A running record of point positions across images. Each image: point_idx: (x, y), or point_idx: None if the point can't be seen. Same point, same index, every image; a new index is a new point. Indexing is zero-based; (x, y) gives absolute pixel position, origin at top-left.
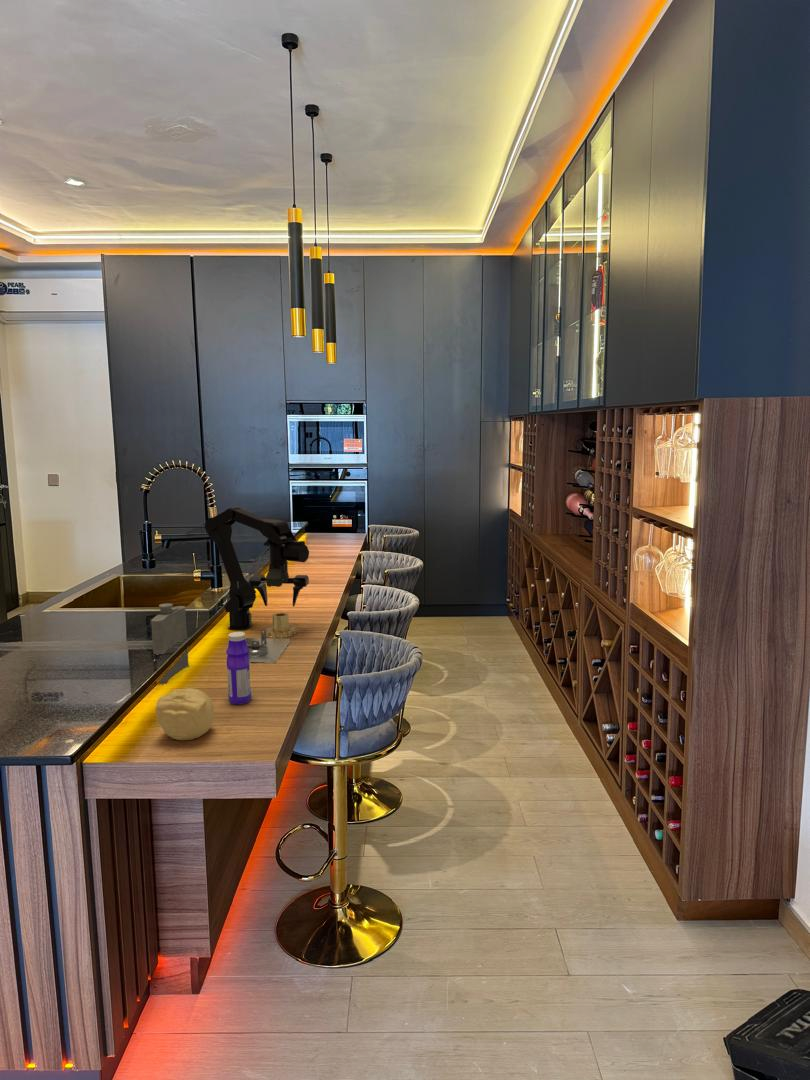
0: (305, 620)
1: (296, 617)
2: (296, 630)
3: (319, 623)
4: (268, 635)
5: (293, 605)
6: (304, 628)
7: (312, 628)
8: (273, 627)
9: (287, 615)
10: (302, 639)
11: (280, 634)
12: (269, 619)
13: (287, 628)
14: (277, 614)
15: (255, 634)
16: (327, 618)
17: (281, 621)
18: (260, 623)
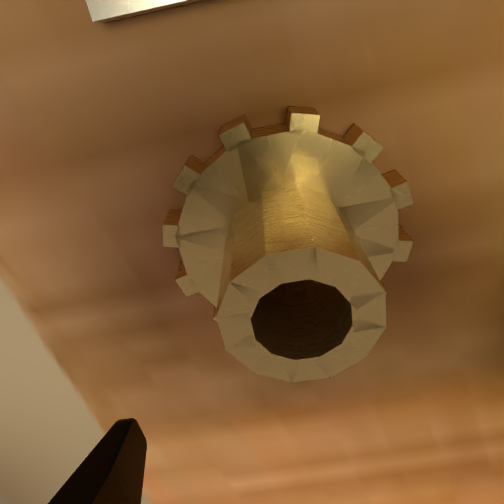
0: (249, 458)
1: (315, 484)
2: (179, 272)
3: (150, 435)
4: (356, 126)
5: (117, 428)
6: (185, 354)
7: (137, 362)
8: (346, 220)
9: (216, 315)
10: (55, 132)
11: (240, 124)
12: (452, 442)
13: (227, 242)
14: (344, 334)
15: (481, 172)
16: (155, 494)
17: (259, 232)
18: (491, 382)
